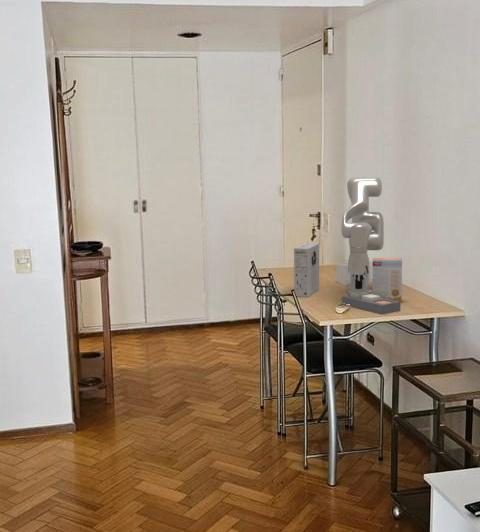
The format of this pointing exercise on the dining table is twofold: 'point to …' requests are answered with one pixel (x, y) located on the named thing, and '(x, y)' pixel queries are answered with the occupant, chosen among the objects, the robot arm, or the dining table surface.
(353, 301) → the key panel
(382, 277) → the cracker box
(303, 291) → the cereal box
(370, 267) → the storage container
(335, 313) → the dining table surface
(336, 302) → the dining table surface
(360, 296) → the left key
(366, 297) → the middle key
